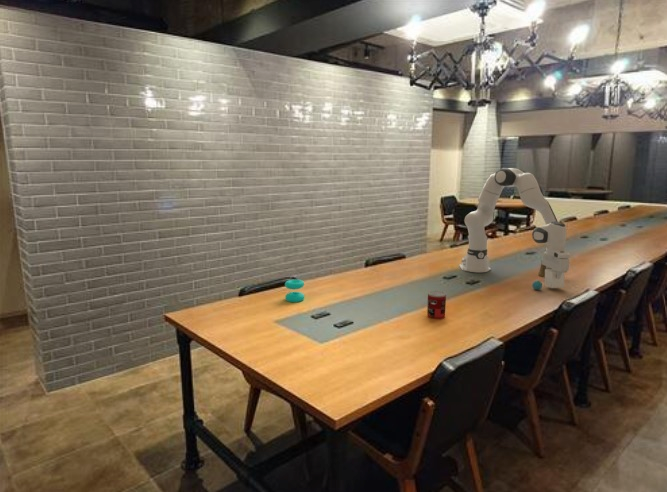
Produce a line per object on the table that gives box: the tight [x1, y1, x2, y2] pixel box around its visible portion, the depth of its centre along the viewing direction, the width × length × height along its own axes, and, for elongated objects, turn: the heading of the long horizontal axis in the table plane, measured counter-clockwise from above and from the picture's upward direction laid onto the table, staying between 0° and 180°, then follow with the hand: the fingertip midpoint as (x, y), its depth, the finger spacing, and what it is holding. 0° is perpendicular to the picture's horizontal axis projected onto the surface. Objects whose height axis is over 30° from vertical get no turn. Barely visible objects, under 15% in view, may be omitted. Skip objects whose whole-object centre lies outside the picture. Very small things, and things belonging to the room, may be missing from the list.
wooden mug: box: [537, 259, 552, 278], centre depth 267 cm, size 9×14×18 cm, turn 35°
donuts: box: [284, 278, 306, 303], centre depth 228 cm, size 10×10×10 cm
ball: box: [531, 280, 543, 291], centre depth 241 cm, size 5×5×5 cm
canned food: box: [426, 290, 447, 320], centre depth 201 cm, size 8×8×11 cm
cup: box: [544, 269, 565, 289], centre depth 241 cm, size 7×7×9 cm
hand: (553, 276), depth 241 cm, fingers closed on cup, 7 cm apart
